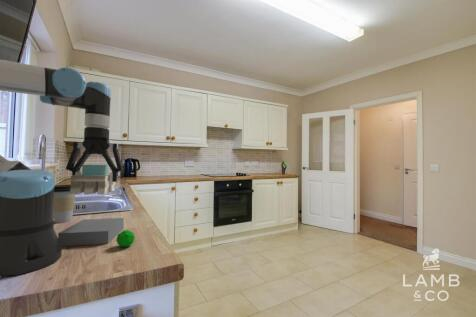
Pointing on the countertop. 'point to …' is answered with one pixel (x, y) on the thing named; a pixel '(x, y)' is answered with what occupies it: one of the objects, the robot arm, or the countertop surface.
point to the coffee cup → (63, 203)
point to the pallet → (90, 184)
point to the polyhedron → (125, 238)
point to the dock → (91, 232)
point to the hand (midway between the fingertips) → (94, 191)
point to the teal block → (94, 169)
